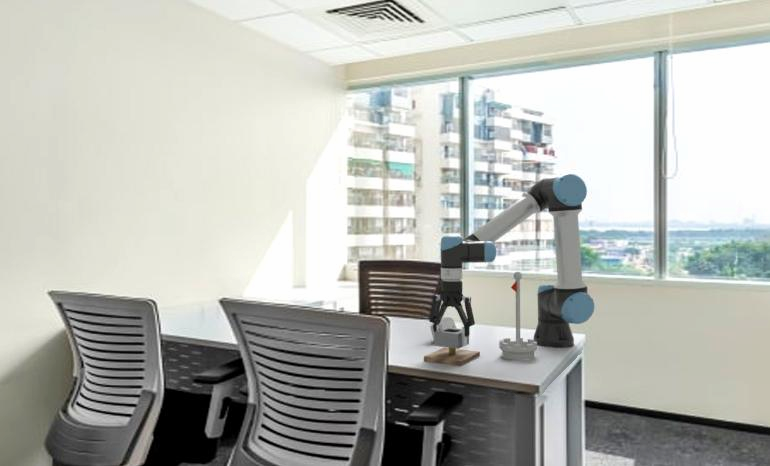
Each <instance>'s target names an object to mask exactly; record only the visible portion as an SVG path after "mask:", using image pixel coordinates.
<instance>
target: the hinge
mask: <svg viewBox="0 0 770 466" xmlns="http://www.w3.org/2000/svg"><path fill="white" fill-rule="evenodd" d="M440 322H441V323H439V324H442V329H443V328H446V327H447V328H456V329H458V328H457V326H456V323H455V320H454V319H453V318H452V317H450V316H446V317H444V316H443V317H442V319H441V321H440ZM430 330H431V331H430V332H431V334H432V335H431V336H432V338H433V343H434V344H435V325H434V323H432V322H431V325H430Z"/></svg>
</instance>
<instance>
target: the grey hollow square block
mask: <svg viewBox="0 0 770 466" xmlns="http://www.w3.org/2000/svg"><path fill="white" fill-rule="evenodd" d="M456 328H457V327H456ZM456 328H447V327H446V328H443V329H440V330H437V331H435V343H434V347H441V348H456V349H461V348H463V346H462V328H457V329H456ZM468 345H470V335H469V336H468V337H467V345H466V346H468Z"/></svg>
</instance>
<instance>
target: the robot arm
mask: <svg viewBox="0 0 770 466" xmlns="http://www.w3.org/2000/svg"><path fill="white" fill-rule="evenodd" d="M587 195H588V190H587V184H586V183H585V181H584V180H583V179H582V178H581V177H580V176H579V175H577V174H574V173H560V174H556V175H549V176H548V175H547V176H546V177H544V178H541V180H539V181H538V182H536V183H534V185H532V186H531V187H530V188H528V189H527V190H525V191H524V192H522V195H521V196H522V197H520V198H519V199H518V200H516V201H515V202H514V203H511V205H509V206H508V207H506V208H505V209H504V210H503V211H501V212H500V213H498V214H497V215H495V216H494V217H493V218H492V219H490V220H489V221H488V222H486V223H485V224H483V225H482V226H480V227H479V228H477V230H475V231H473V232H472V233H471V234H469V235H468V236H467V237H465V238H464V239H463V237H462V236H461V235H443V236H442V237H441V239H440V249H439V250H440V278H441V279H440V280H441V281H440V294H434V295H432V306H431V311H430V315H429V323H431V324H432V323H434V325H435V331H437V330H440V329H442V324H439V323H441V322H440V321H441V319H442V318H443V317H444V315H445V313H446V311H447V309H448V308H450V307H452V308H455V310H456V312H457V314H458V316H459V319H460V320H461V323H462V325H463V327H461V329H462V346H463V347H464V348H465V347H466V346H468V345H467V337H468V336H469V337H470V329H471V328H470V327H472V326H475V325H476V324H475V323H476V322H475V317H474V313H473V308H472V297H471V296H464V295H463V281H462V280H463V264H467V263H470V264H471V263H485V264H486V263H493V262H494V261H495V259H496V257H497V246H496V244H495V242H497V241H498V240H499V239H501V238H502V237H503V236H505V235H506V234H507V233H509V232H510V231H512V230H514V228H516V227H518V226H519V225H520V224H521V223H523V222H524V221H525V220H526V219H528V218H530V217H531V216H532V215H535V214H537V215H538V214H540V213H541V212H542V211H544V210H547V209H548V213H549V214H550V215H551V216H552V218H553V234H554V244H555V245H554V247H555V258H556V261H555V262H556V263H555V264H556V276H557V282H556V283H555V284H541V285H539V286H538V288H537V294H536V295H537V325H536V327H535V331H534V334H533V338H532V340H534V342H537V346H541V347H546V348H547V347H549V348H568V347H571V346H574V344H575V338H574V335H573V331H572V328H571V326H570V324H575V325H580V324H583V323H586V322H587V321H589V320H590V318H591V317H592V316H593V314H594V311H595V302H594V299H593V298H592V297H591V295H590V294H588V293H589V291H588V284H587V283H585V282H584V281H583V274H582V273H583V271H582V256H581V255H582V254H581V241H580V240H581V239H580V229H579V228H580V225H579V215H580V213H581V212H582V210H583V205H582V203H583V202H584V200H586V197H587ZM440 301H442V303H441V305H440V308H439V304H440ZM462 301H463V303H464V309H465V310H464V309H463V304H462ZM438 309H439V310H438ZM463 347H462V348H463Z"/></svg>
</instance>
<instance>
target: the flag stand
mask: <svg viewBox="0 0 770 466" xmlns="http://www.w3.org/2000/svg"><path fill="white" fill-rule="evenodd" d="M522 277H523V275H522V273H521V272H520V271H515V272H514V273H513V279H514V280H515V281H514V282H513V284H512V285H511V287H510V288H511V289H512V290H513V291H514V292H515V340H511V338H510V337H507V338H506V337H504V338H503V339H500V340H499V342H498V344H499V345H498V346H499V348H498V349H500V351H502V352H501V353H502V354H501V355H502V356H501V357H503V358H504V359H508V360H514V361H528V360H533V359H535V352H536V351H537V350H538V345H537V342H534V340H533V338H532V339H531V338H527V341H524V338H523V337H521V280H522Z"/></svg>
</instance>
